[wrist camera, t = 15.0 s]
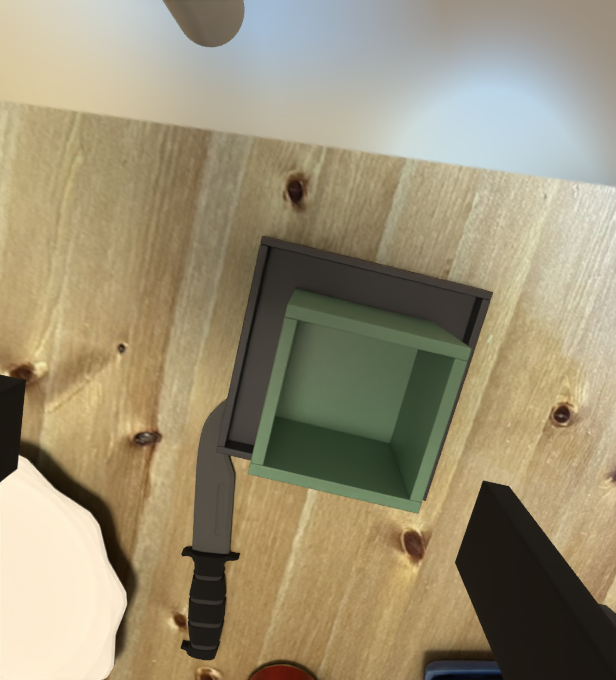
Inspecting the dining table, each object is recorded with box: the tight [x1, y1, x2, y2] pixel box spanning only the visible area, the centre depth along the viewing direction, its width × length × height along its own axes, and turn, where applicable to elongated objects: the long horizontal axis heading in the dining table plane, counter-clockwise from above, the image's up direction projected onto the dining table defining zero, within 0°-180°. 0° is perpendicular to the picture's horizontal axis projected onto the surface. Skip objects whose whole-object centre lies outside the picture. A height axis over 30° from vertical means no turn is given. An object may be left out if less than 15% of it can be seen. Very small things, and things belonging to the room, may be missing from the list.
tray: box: [216, 236, 493, 501], centre depth 36 cm, size 17×17×2 cm
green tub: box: [248, 289, 471, 513], centre depth 32 cm, size 11×11×9 cm
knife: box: [181, 399, 240, 660], centre depth 40 cm, size 25×2×5 cm
